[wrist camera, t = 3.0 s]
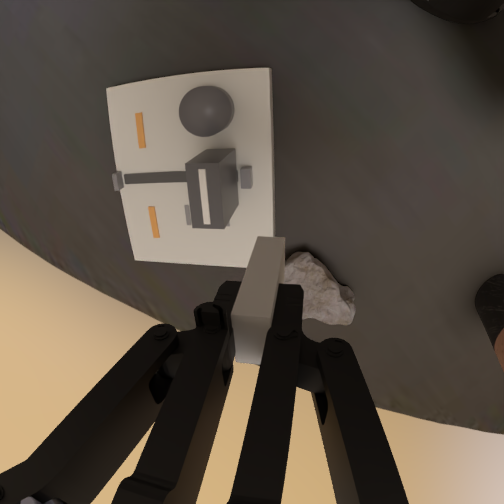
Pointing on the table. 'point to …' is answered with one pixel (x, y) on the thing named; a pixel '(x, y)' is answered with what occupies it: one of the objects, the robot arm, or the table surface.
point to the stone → (320, 290)
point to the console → (183, 150)
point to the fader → (212, 188)
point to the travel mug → (493, 312)
